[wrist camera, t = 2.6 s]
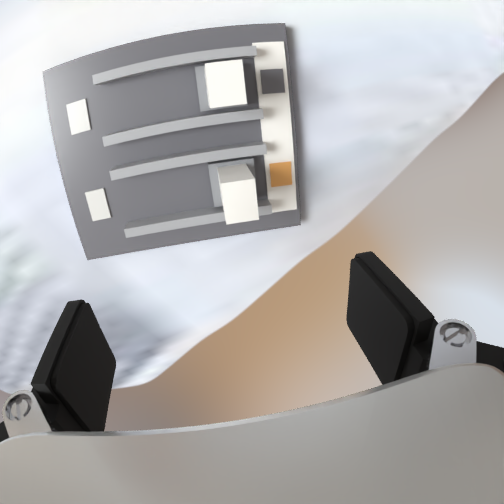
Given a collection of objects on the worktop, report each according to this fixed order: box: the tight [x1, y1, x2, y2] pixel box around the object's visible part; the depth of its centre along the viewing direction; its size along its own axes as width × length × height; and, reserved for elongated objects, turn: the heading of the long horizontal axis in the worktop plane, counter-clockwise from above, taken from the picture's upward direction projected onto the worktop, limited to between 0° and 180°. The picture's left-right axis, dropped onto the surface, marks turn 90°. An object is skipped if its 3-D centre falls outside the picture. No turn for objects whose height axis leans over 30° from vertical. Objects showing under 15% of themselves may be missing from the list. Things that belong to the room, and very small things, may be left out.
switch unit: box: [43, 23, 301, 260], centre depth 21 cm, size 18×16×2 cm
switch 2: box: [208, 156, 259, 225], centre depth 21 cm, size 3×3×5 cm
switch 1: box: [195, 59, 248, 112], centre depth 18 cm, size 3×3×5 cm
